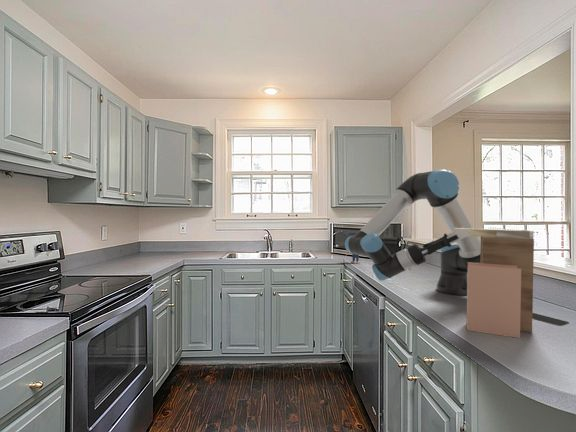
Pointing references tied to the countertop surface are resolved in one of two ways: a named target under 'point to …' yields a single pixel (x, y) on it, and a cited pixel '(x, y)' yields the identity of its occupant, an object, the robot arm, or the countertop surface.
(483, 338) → the countertop surface
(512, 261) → the stand
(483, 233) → the slat
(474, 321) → the pink rectangular box
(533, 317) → the smartphone
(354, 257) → the toy
